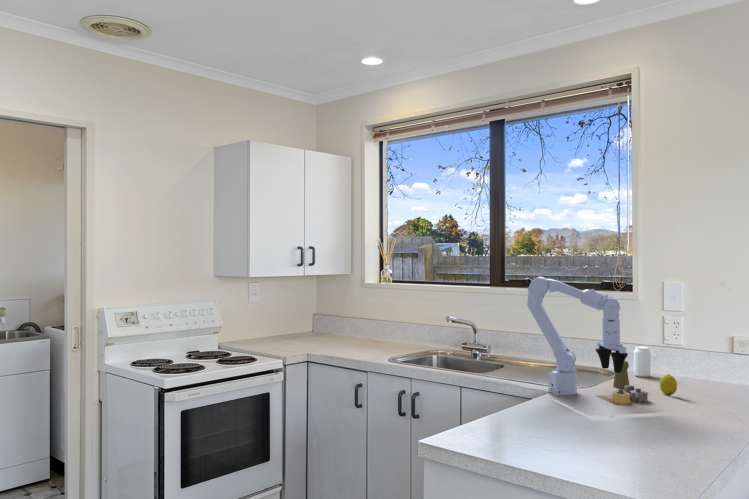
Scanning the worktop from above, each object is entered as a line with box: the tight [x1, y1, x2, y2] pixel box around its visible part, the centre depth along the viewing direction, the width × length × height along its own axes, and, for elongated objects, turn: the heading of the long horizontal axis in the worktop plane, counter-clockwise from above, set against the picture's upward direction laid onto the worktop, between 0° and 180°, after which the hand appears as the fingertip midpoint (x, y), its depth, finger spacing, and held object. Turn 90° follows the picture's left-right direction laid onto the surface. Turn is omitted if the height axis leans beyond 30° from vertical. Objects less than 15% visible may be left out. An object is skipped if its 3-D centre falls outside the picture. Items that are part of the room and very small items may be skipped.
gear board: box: [596, 384, 653, 406], centre depth 206 cm, size 14×13×5 cm
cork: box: [613, 360, 630, 390], centre depth 224 cm, size 6×6×11 cm
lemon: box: [659, 373, 678, 397], centre depth 213 cm, size 6×6×8 cm
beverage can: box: [633, 345, 652, 378], centre depth 247 cm, size 6×6×12 cm
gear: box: [611, 390, 630, 405], centre depth 203 cm, size 5×5×3 cm
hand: (611, 370), depth 211 cm, fingers open, 7 cm apart
